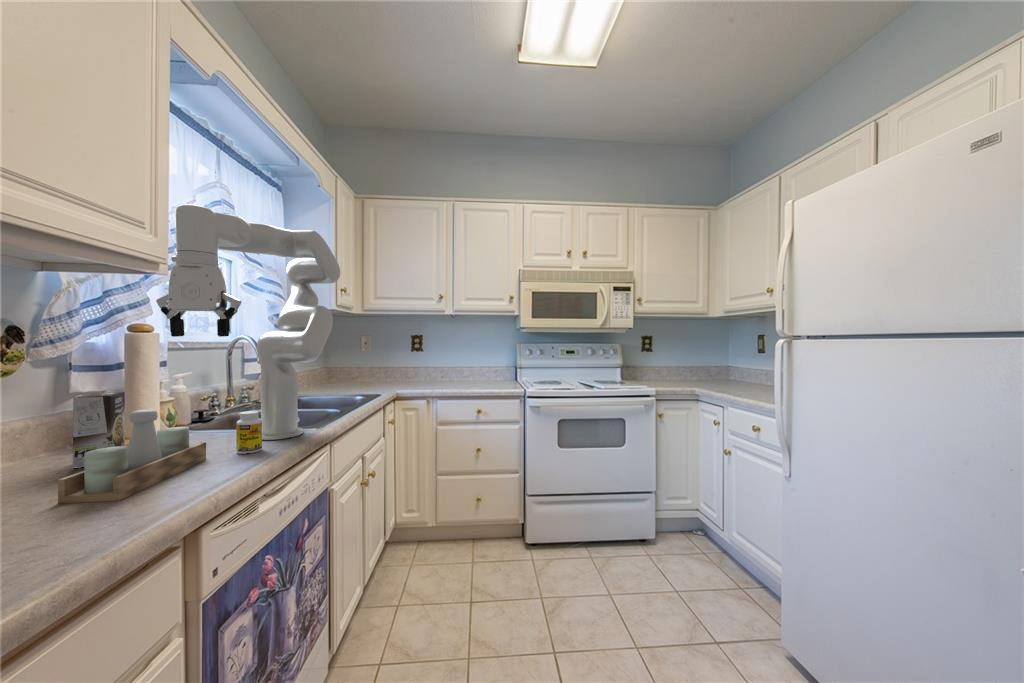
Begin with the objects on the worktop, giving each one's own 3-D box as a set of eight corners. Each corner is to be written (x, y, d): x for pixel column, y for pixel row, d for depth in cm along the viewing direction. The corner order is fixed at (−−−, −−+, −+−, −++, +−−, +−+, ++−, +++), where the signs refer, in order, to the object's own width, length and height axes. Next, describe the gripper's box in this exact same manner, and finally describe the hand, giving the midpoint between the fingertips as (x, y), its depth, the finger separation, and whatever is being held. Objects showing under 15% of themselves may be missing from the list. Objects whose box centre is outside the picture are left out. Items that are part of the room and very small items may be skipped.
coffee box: (111, 465, 88) (111, 395, 88) (71, 470, 85) (71, 397, 85) (126, 455, 96) (126, 390, 96) (90, 458, 93) (90, 392, 93)
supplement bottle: (235, 455, 96) (235, 415, 96) (237, 450, 101) (237, 411, 101) (261, 452, 99) (262, 412, 99) (262, 447, 104) (262, 409, 104)
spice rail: (161, 461, 92) (161, 426, 92) (206, 459, 93) (206, 425, 93) (58, 503, 68) (58, 457, 68) (119, 500, 69) (119, 455, 69)
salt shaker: (145, 467, 84) (145, 407, 84) (170, 467, 83) (170, 407, 83) (115, 476, 78) (116, 412, 78) (142, 477, 77) (142, 413, 77)
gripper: (142, 258, 83) (146, 337, 84) (229, 260, 86) (231, 336, 86) (169, 263, 91) (172, 335, 92) (247, 265, 93) (249, 335, 94)
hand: (200, 336), depth 89 cm, fingers open, 9 cm apart
